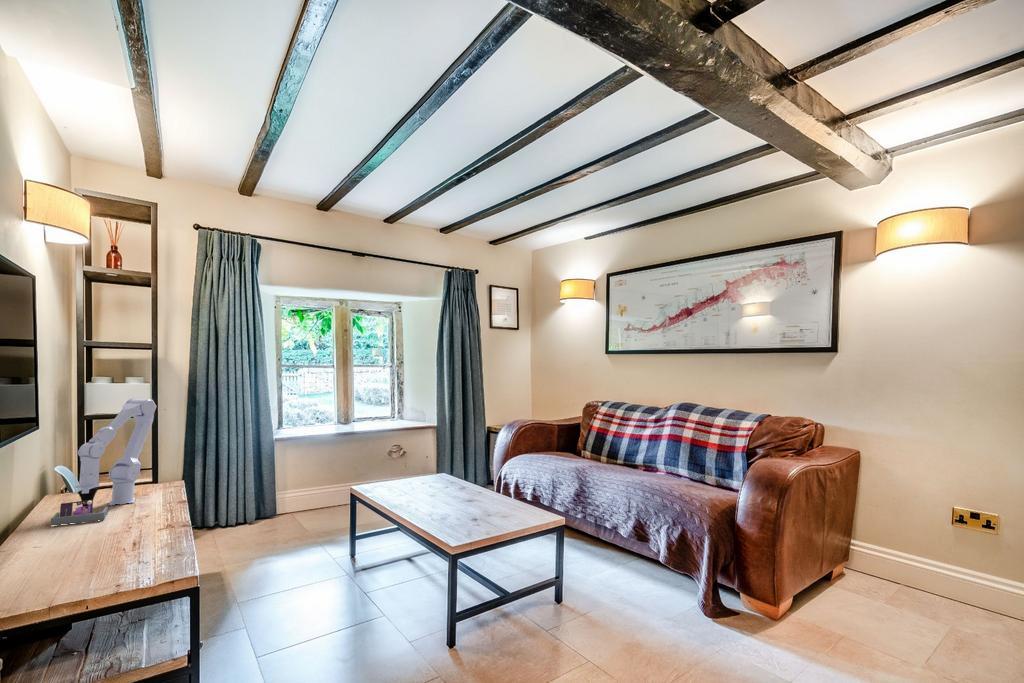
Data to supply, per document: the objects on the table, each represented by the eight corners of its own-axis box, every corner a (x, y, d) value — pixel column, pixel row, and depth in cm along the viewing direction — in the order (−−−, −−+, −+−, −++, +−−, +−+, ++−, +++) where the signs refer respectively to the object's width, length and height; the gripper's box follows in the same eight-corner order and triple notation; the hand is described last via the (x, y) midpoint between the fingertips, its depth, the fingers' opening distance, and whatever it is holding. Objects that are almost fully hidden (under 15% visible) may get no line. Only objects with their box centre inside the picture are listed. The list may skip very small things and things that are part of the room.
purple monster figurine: (60, 503, 175) (93, 499, 181) (60, 505, 178) (92, 501, 184) (59, 522, 173) (92, 517, 179) (58, 523, 176) (91, 519, 182)
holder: (56, 520, 175) (56, 512, 175) (107, 514, 183) (108, 506, 183) (50, 527, 168) (50, 518, 168) (103, 520, 176) (104, 512, 176)
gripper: (79, 471, 191) (77, 505, 190) (72, 477, 179) (69, 514, 178) (102, 469, 195) (100, 503, 194) (96, 475, 183) (93, 511, 182)
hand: (86, 508), depth 187 cm, fingers closed
